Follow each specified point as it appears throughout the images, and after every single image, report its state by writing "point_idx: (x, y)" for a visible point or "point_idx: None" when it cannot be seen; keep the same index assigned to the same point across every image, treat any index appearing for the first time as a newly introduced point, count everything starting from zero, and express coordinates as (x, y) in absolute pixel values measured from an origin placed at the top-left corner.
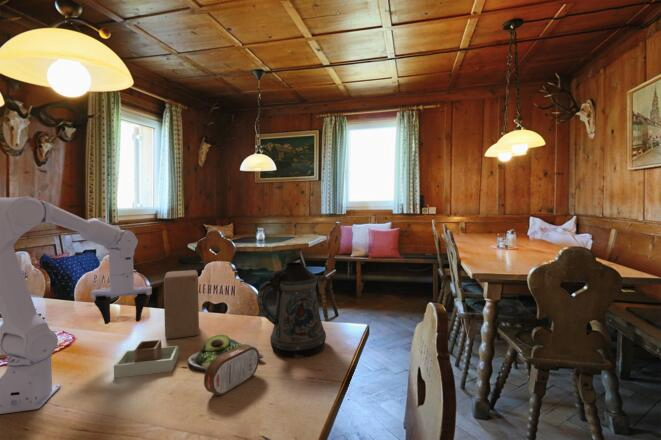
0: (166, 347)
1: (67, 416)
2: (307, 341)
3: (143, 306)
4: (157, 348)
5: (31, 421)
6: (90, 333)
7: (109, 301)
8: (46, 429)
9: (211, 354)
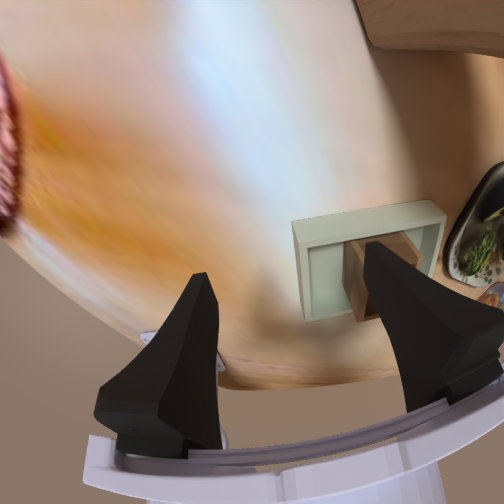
0: (419, 226)
1: (280, 373)
2: None
3: (432, 284)
4: None
5: (238, 379)
6: (16, 9)
7: (182, 383)
8: (270, 386)
9: (487, 250)
